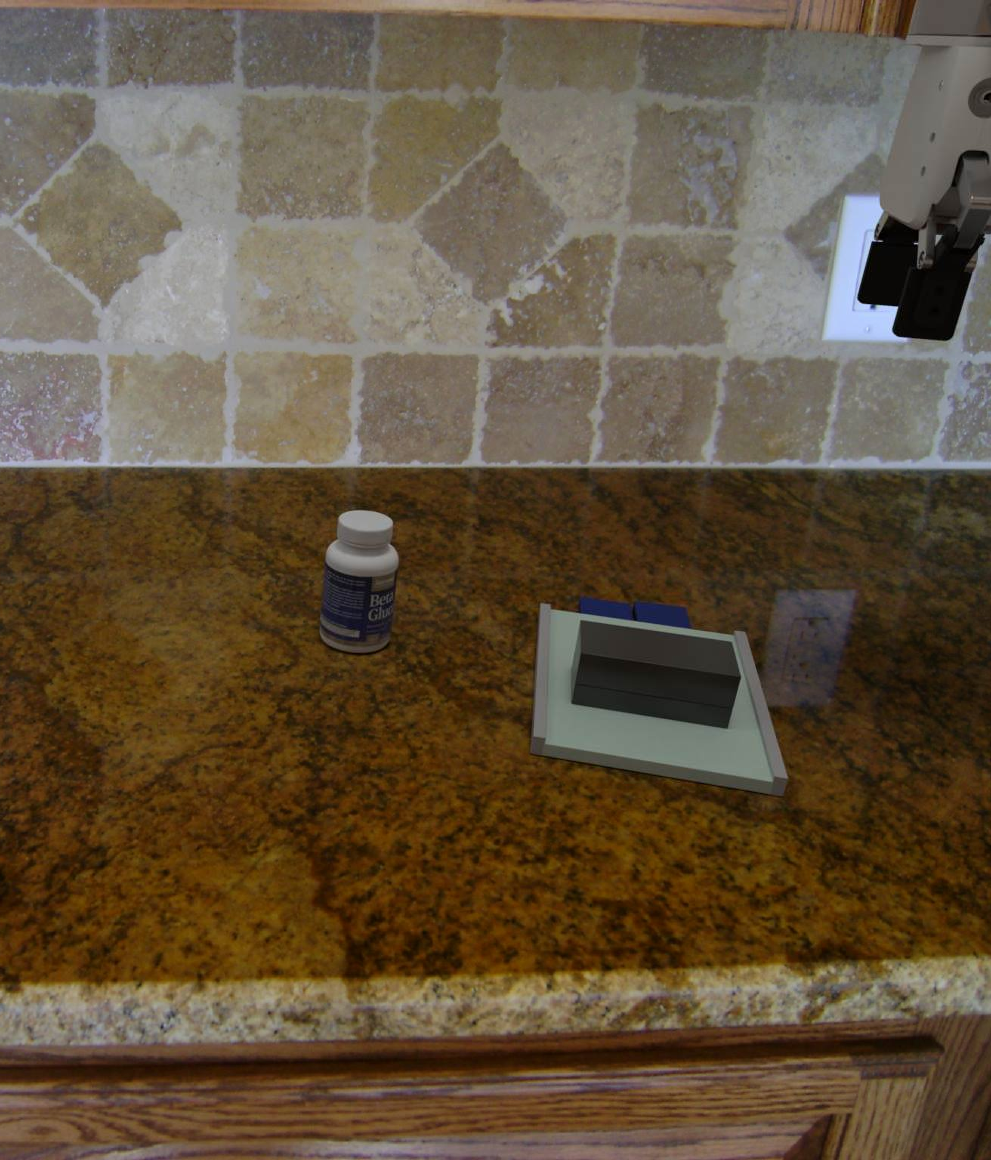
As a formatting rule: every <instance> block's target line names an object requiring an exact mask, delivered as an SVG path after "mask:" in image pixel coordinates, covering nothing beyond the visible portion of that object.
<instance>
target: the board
mask: <svg viewBox="0 0 991 1160" xmlns="http://www.w3.org/2000/svg"><path fill="white" fill-rule="evenodd" d="M538 609H539V610H538V615H537V628H536V645H535V646H536V648H535V661H534V680H533V696H532V697H533V698H532V716H531V733H530V751H529V752H530V754H531V755H536V756H543V757H548V758H554V759H559V760H560V759H561V760H567V761H572V762H578V763H584V764H590V765H596V766H601V767H608V768H613V769H619V770H625V771H630V772H636V773H642V774H647V775H648V774H649V775H653V776H654V775H655V776H661V777H665V778H672V779H679V780H682V781H683V780H684V781H690V782H696V783H701V784H707V785H713V786H719V787H725V788H730V789H736V790H742V791H748V792H754V793H760V794H766V795H770V796H775V797H776V796H777V797H781V798H782V797H784V794H785V791H786V787H787V785H788V781H789V777H788V773H787V770H786V766H785V762H784V758H783V756H782V753H781V750H780V745H779V742H778V738H777V736H776V731H775V728H774V725H773V721H772V718H771V714H770V711H769V708H768V705H767V704H768V703H767V701H766V698H765V694H764V691H763V688H762V684H761V680H760V677H759V674H758V671H757V667H756V663H755V660H754V657H753V652H752V649H751V646H750V643H749V639H748V636H747V633H746V631H742V630H741V631H740V630H734V631H733V634H727V633H721V632H713V631H707V630H705V631H704V630H698V629H692V628H691V629H686V628H679V627H672V626H665V625H658V624H651V623H644V622H637V621H635V620H633V621H630V620H623V619H616V618H609V617H602V616H595V615H588V614H581V613H579V612H575V611H573V612H572V611H565V610H560V609H559V610H558V609H552V604H551V603H544V602H540V604H539V608H538ZM580 620H585V621H592V622H599V623H606V624H613V625H619V626H626V627H633V628H640V629H647V630H654V631H661V632H668V633H675V634H682V635H689V636H696V637H703V638H710V639H717V640H724V641H730V642H732V644H733V648H734V651H735V655H736V659H737V663H738V667H739V670H740V674H741V680H740V684H739V688H738V692H737V695H736V699H735V703H734V707H733V710H732V714H731V718H730V722H729V726H728V728H720V727H714V726H708V725H702V724H695V723H689V722H683V721H677V720H670V719H664V718H658V717H652V716H646V715H639V714H633V713H627V712H621V711H614V710H608V709H602V708H596V707H589V706H583V705H577V704H572V703H571V668H572V663H573V658H574V652H575V647H576V641H577V636H578V630H579V625H580Z"/></svg>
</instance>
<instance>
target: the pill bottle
mask: <svg viewBox="0 0 991 1160" xmlns="http://www.w3.org/2000/svg"><path fill="white" fill-rule="evenodd" d="M393 530H394V522H393V520H392V518H391V517H389V516H387V515H386V514H383V513H380V512H377V511H373V510H364V509H359V510H358V509H357V510H349V511H345V512H343V513H342V514H340V515H339V517H338V520H337V528H336V536H337V537H336V538H337V539H336V540H334V541H332V542H331V543H330V544H329V546H327V549H326V552H325V560H324V572H323V583H322V594H321V606H320V616H319V617H320V618H319V635H320V638H321V640H322V641H323V643H325V644H326V645H327V646H329V647H331V648H332V649H336V650H338V651H342V652H347V653H352V654H353V653H354V654H368V653H373V652H377V651H379V650H381V649H384V648H385V647H386V646H387V645H388V644H389V642H390V639H391V634H392V633H391V632H392V627H393V617H394V609H395V608H394V607H395V599H396V589H397V580H398V572H399V562H400V560H399V554H398V551H397V550H396V548H395V547H393V545H392V544H390V543H391V542H392V538H393V532H394V531H393Z"/></svg>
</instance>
